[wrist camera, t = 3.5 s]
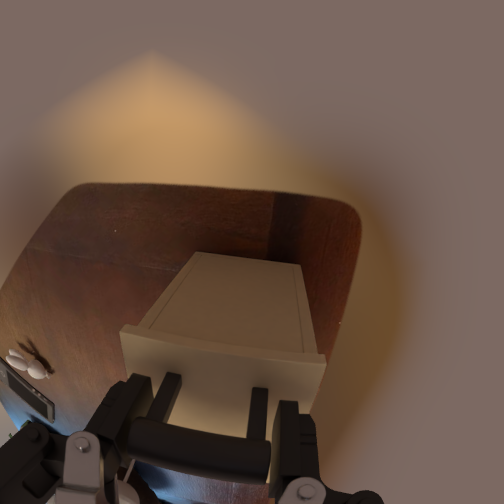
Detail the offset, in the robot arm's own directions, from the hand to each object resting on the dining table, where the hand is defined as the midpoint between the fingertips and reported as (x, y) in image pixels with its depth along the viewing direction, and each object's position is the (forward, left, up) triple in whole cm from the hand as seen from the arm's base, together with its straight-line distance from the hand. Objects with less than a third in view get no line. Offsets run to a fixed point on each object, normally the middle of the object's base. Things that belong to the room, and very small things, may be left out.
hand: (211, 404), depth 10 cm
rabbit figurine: (-5, -35, -15) cm, 38 cm away
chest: (+3, -3, -15) cm, 15 cm away
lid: (+3, -3, -2) cm, 4 cm away
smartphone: (-1, -50, -15) cm, 52 cm away
